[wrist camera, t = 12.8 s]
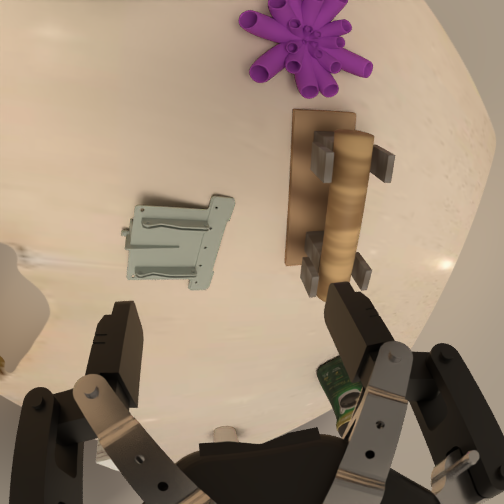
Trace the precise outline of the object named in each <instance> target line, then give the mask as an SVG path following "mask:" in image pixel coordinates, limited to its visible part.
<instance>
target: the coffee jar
mask: <svg viewBox="0 0 504 504" xmlns="http://www.w3.org/2000/svg"><path fill="white" fill-rule="evenodd" d="M317 377H318V379H319V382H320V384H321V386H322V388H323V390H324V392H325V394H326V396H327V397H328V399H329V401H330V403H331V406H332V408H333V410H334V413H335V415H336V418H337V424H336V427H337V431H338V432H339V434H340V436H341V437H343V435H344V432H345V430H346V428H347V426H348V424H349V421H350V419H351V416H352V414H353V411H354V409H355V406H356V403H357V400H358V398H359V395H360V392H361V389H362V387H363V385H362V382H361V381H359V382H355V383H352V382H351V380H350V378H349V375H348V373H347V371H346V369H345V366H344V364H343V362H342V359H341V357H338V358H336V359H334V360H332V361H330V362H328V363H326V364H324V365H323V366H321V367H320V368H319V370H318V371H317Z"/></svg>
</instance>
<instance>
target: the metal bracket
mask: <svg viewBox="0 0 504 504" xmlns="http://www.w3.org/2000/svg"><path fill="white" fill-rule="evenodd" d="M234 206H235V200H234V198H233V197H224V196H212V198H211V201H210V205H209V208H208V209H195V208H181V207H166V206H149V205H136V206H135V211H134V218H133V222H132V219H130V226H129V231H127V230H124V231H123V230H122V231H121V236H126V242H125V250H129V258H128V267H127V279H128V280H170V279H190V282H189V286H188V288H189V289H190V290H206V289H207V288H208V287H209V286H210V283H211V280H212V276H213V273H214V271H213V267H214V263H215V260H216V256H217V253H218V250H219V246H220V243H221V240H222V236H223V233H224V230H225V226H226V223H227V222H228V221H230V218H231V215H232V212H233V209H234ZM215 207H217V208H216V209H215ZM141 208H144V211H140V209H141ZM210 227H212V228H211V229H209V228H210ZM204 247H206V248H204ZM199 265H201V266H199ZM132 275H135V277H131V276H132ZM196 281H197V282H196ZM195 282H196V283H195Z"/></svg>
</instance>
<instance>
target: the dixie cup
mask: <svg viewBox="0 0 504 504" xmlns="http://www.w3.org/2000/svg"><path fill="white" fill-rule="evenodd" d="M224 441H232V442H239V441H238V437H237V434H236V431H235V428H233V427H228V426H225V427H219V428H216V429H215V430H214V442H224Z"/></svg>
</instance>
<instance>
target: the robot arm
mask: <svg viewBox="0 0 504 504" xmlns="http://www.w3.org/2000/svg"><path fill="white" fill-rule="evenodd" d="M324 319H325V323H326V325H327V328H328V330H329V332H330V334H331V337H332V339H333V341H334V343H335V346H336V348H337V350H338V352H339V355H340V357H341V359H342V362H343V364H344V366H345V369H346V371H347V373H348V375H349V378H350V380H351V382H352V383H355V382H359V381H361V382H362V385H363V387H362V389H361V392H360V395H359V398H358V400H357V403H356V406H355V409H354V411H353V414H352V416H351V419H350V421H349V424H348V426H347V428H346V430H345V432H344V435H343V437H342V438H339V437H336V436H331V435H326V434H319V431H318V428H317V427H316V428H312V429H306V430H301V431H296V432H291V433H287V434H285V435H283V436H280V437H278V438H275V439H273V440H271V441H268V442H265V443H263V444H251V443H241V442H232V441H224V442H213V443H199V451H196V452H193V453H191V454H189V455H187V456H185V457H183V458H182V459H180V460H179V461H178V462H176V463H174V462H173V461H172V460H171V459H170V458H169V457H168V456H167V455H166V453H165V452H164V451H163V450H162V449H161V448H160V447H159V446H158V444H157V443H156V442H155V441H154V440H153V439H152V438H151V436H150V435H149V434H148V433H147V432H146V430H145V429H144V428H143V427H142V426H141V424H140V423H139V422H138V421H137V420H136V419H135V418H134V417H133V416H132V415H131V414H130V412H129V408H138V395H139V382H140V370H141V360H142V350H143V329H142V325H141V322H140V319H139V316H138V313H137V309H136V306H135V303H134V301H119V302H115V304H114V307H113V311H112V315H104V316H103V318H102V319H101V320H100V322H99V323H98V324H97V328H96V332H95V336H94V340H93V344H92V348H91V352H90V356H89V360H88V365H87V369H86V374H85V376H83V377H81V378H80V379H79V380H78V381H77V382H76V383H75V385H74V388H73V389H70V390H67V391H64V392H60V393H56V394H52V393H51V391H50V390H48V389H47V388H44V387H37V388H34V389H32V390H31V391H29V392H28V393H27V395H26V396H25V398H24V401H23V405H22V410H21V415H20V420H19V425H18V431H17V436H16V442H15V449H14V456H13V464H12V473H11V483H10V497H9V504H83V499H82V498H83V495H82V494H83V491H82V490H83V480H82V478H83V449H84V441H88V440H92V439H96V438H99V442H100V444H101V445H102V447H103V449H104V450H105V451H106V453H107V454H108V456H109V457H110V459H111V460H112V461H113V463H114V464H115V466H116V467H117V468H118V470H119V471H120V472H121V474H122V475H123V476H124V478H125V479H126V480H127V481H128V483H129V484H130V485H131V486H132V488H133V489H134V490H135V491H136V493H137V494H138V495H139V496H140V497H141V499H142V500H143V501H144V502H143V503H142V504H481V503H483V502H485V501H487V500H489V499H491V498H493V497H494V496H496V495H498V494H500V493H501V492H503V491H504V436H503V433H502V431H501V429H500V427H499V425H498V423H497V421H496V419H495V417H494V415H493V413H492V411H491V409H490V407H489V405H488V404H487V402H486V400H485V398H484V396H483V394H482V392H481V391H480V389H479V387H478V385H477V383H476V381H475V380H474V378H473V376H472V375H471V373H470V371H469V369H468V368H467V366H466V364H465V362H464V361H463V359H462V357H461V356H460V354H459V353H458V351H457V350H456V349H455V348H454V347H452V346H451V345H449V344H444V343H440V344H437V345H435V346H434V347H433V348H432V350H431V351H430V352H412V351H411V350H410V348H409V347H408V346H406V345H405V344H403V343H401V342H398V341H395V340H394V338H393V337H392V335H391V333H390V332H389V330H388V328H387V327H386V325H385V323H384V322H383V320H382V319H381V317H380V316H379V314H378V312H377V311H376V309H374V306H373V304H372V303H371V301H370V299H369V298H368V297H366V296H365V295H364V294H362V293H361V292H355V291H354V290H353V288H352V286H351V285H350V283H349V282H348V281H344V282H336V283H330V285H329V288H328V293H327V298H326V304H325V309H324ZM408 401H409V402H410V404H411V407H412V409H413V411H414V414H415V416H416V418H417V421H418V423H419V426H420V428H421V431H422V433H423V436H424V438H425V440H426V443H427V446H428V448H429V451H430V453H431V456H432V459H433V461H434V464H435V467H434V469H433V471H432V474H431V487H432V491H430V490H428V489H426V488H424V487H423V486H421V485H419V484H417V483H416V482H414V481H412V480H410V479H409V478H407V477H405V476H403V475H401V474H400V473H398V472H396V471H395V470H393V469H391V468H390V466H391V464H392V460H393V457H394V454H395V450H396V447H397V444H398V440H399V436H400V433H401V429H402V425H403V422H404V418H405V414H406V410H407V405H408Z"/></svg>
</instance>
